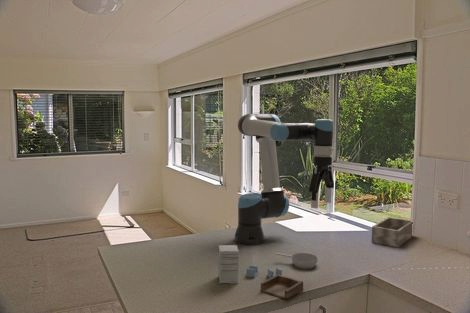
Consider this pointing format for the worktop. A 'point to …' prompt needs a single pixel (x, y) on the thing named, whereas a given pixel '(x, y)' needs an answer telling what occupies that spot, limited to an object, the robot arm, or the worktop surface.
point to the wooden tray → (282, 286)
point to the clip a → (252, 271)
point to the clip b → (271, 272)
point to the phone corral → (392, 232)
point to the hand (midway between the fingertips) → (321, 205)
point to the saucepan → (302, 260)
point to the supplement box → (228, 264)
